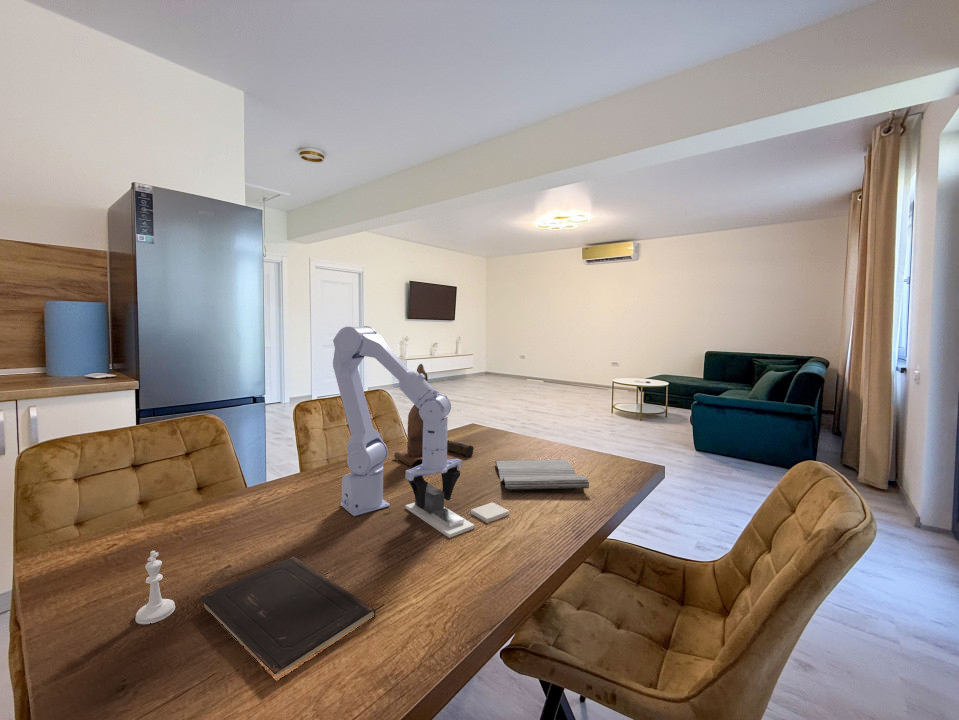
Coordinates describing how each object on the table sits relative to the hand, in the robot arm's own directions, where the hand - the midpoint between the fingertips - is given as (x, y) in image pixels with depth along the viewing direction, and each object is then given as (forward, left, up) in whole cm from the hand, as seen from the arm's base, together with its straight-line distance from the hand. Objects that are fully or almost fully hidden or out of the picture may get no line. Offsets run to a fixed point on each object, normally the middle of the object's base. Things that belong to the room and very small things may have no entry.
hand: (433, 502), depth 102 cm
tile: (+11, -5, -3) cm, 12 cm away
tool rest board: (0, -2, -3) cm, 4 cm away
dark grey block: (0, -1, -2) cm, 3 cm away
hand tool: (+32, +38, -3) cm, 50 cm away
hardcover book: (-37, -14, -4) cm, 40 cm away
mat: (+38, +1, -4) cm, 38 cm away
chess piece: (-53, -2, -3) cm, 53 cm away
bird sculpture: (+18, +36, -3) cm, 40 cm away
